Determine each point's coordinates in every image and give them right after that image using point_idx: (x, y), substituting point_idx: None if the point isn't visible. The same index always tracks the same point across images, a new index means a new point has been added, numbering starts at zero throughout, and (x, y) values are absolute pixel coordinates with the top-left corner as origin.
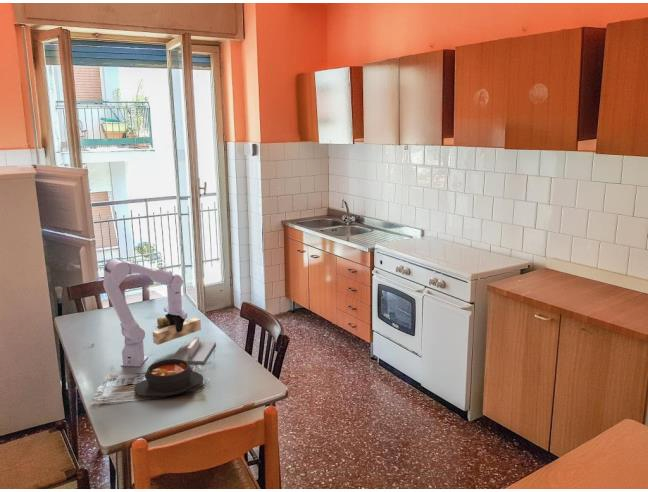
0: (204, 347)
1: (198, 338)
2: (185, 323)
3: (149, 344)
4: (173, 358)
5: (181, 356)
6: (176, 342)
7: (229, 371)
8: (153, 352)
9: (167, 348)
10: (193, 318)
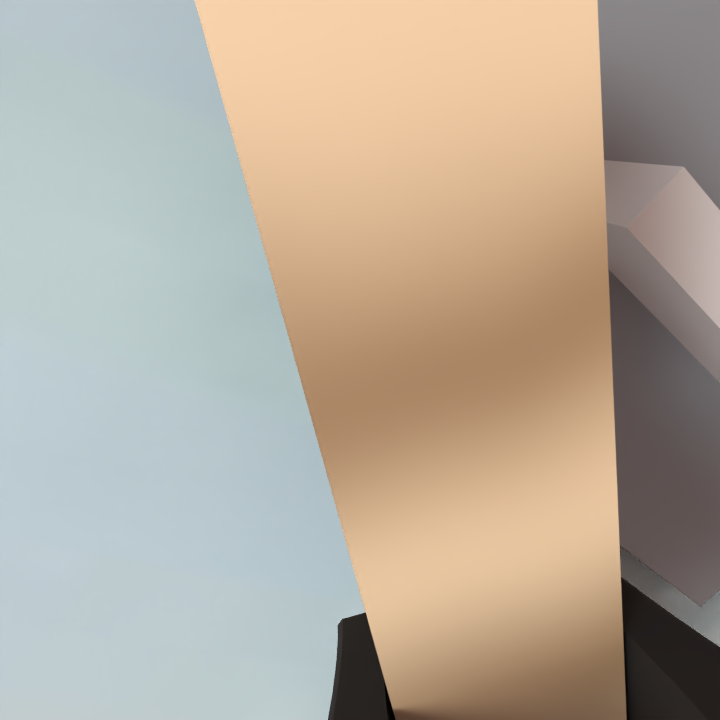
0: (716, 130)
1: (702, 196)
2: (554, 509)
3: (47, 654)
4: (691, 569)
5: (716, 491)
6: (160, 366)
7: None
8: (322, 657)
9: (304, 517)
10: (238, 21)
